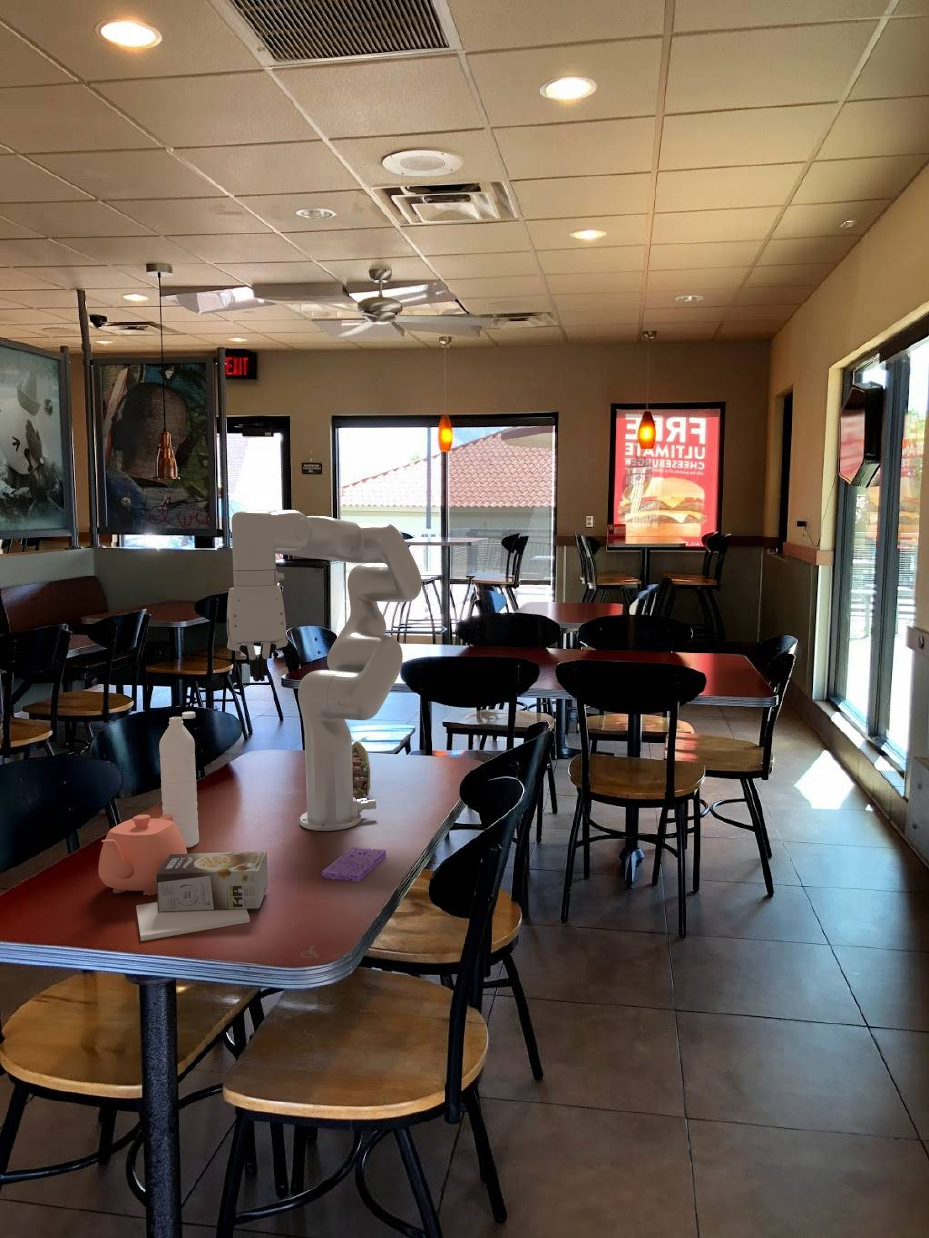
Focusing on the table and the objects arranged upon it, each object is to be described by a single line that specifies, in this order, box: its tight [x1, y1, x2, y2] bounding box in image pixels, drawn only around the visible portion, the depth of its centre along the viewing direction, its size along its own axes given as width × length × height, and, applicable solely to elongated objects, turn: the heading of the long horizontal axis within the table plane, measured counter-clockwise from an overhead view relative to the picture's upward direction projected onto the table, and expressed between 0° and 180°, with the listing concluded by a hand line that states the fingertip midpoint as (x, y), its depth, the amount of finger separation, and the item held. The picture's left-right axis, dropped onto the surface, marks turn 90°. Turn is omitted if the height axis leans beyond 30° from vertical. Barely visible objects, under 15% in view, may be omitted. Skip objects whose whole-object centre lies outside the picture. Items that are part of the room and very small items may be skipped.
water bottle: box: [158, 711, 200, 849], centre depth 178 cm, size 9×6×25 cm
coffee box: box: [156, 850, 269, 912], centre depth 149 cm, size 9×6×16 cm
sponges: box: [321, 846, 387, 883], centre depth 165 cm, size 7×13×2 cm, turn 163°
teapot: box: [98, 814, 188, 897], centre depth 157 cm, size 13×20×12 cm, turn 167°
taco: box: [352, 740, 371, 800], centre depth 216 cm, size 10×27×10 cm, turn 23°
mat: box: [135, 901, 251, 942], centre depth 145 cm, size 16×12×1 cm
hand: (258, 680), depth 168 cm, fingers closed
